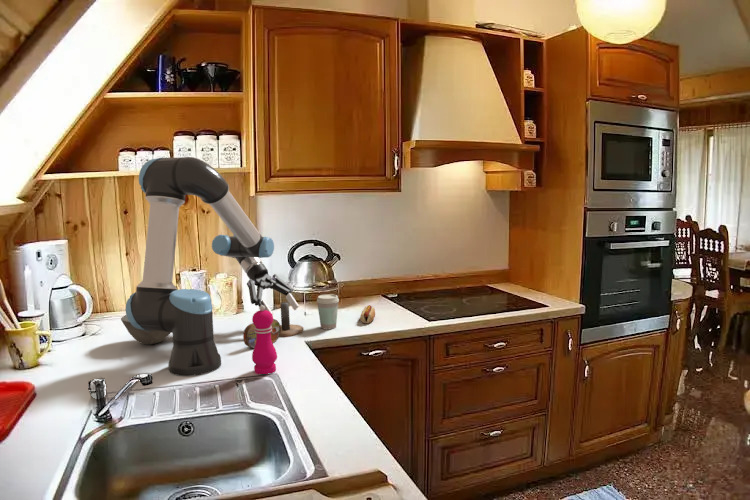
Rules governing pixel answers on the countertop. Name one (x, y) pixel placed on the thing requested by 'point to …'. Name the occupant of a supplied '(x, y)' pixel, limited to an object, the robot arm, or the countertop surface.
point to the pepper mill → (263, 342)
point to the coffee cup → (328, 310)
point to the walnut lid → (288, 323)
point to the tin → (251, 336)
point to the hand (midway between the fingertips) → (284, 312)
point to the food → (367, 314)
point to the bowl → (144, 333)
